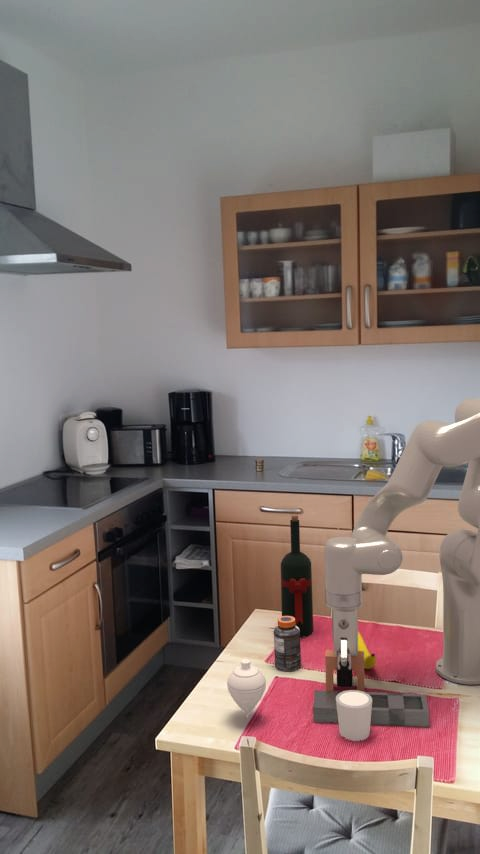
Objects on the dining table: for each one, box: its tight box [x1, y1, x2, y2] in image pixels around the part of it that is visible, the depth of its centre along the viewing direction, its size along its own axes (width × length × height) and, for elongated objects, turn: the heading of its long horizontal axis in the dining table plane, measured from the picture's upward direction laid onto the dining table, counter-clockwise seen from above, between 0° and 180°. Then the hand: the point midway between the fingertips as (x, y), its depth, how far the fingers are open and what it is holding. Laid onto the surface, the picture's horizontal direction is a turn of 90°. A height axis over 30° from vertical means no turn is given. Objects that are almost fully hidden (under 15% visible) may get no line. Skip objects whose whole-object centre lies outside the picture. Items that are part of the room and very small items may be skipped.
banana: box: [358, 630, 377, 670], centre depth 171 cm, size 3×19×6 cm, turn 4°
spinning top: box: [226, 658, 267, 719], centre depth 149 cm, size 8×8×12 cm
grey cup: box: [336, 689, 372, 742], centre depth 142 cm, size 7×7×7 cm
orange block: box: [324, 649, 366, 692], centre depth 159 cm, size 8×3×8 cm, turn 81°
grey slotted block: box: [312, 689, 430, 728], centre depth 149 cm, size 22×7×3 cm, turn 81°
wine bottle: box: [280, 514, 314, 638], centre depth 187 cm, size 8×10×30 cm
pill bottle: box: [273, 615, 302, 672], centre depth 170 cm, size 6×6×11 cm
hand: (345, 676), depth 159 cm, fingers open, 7 cm apart
